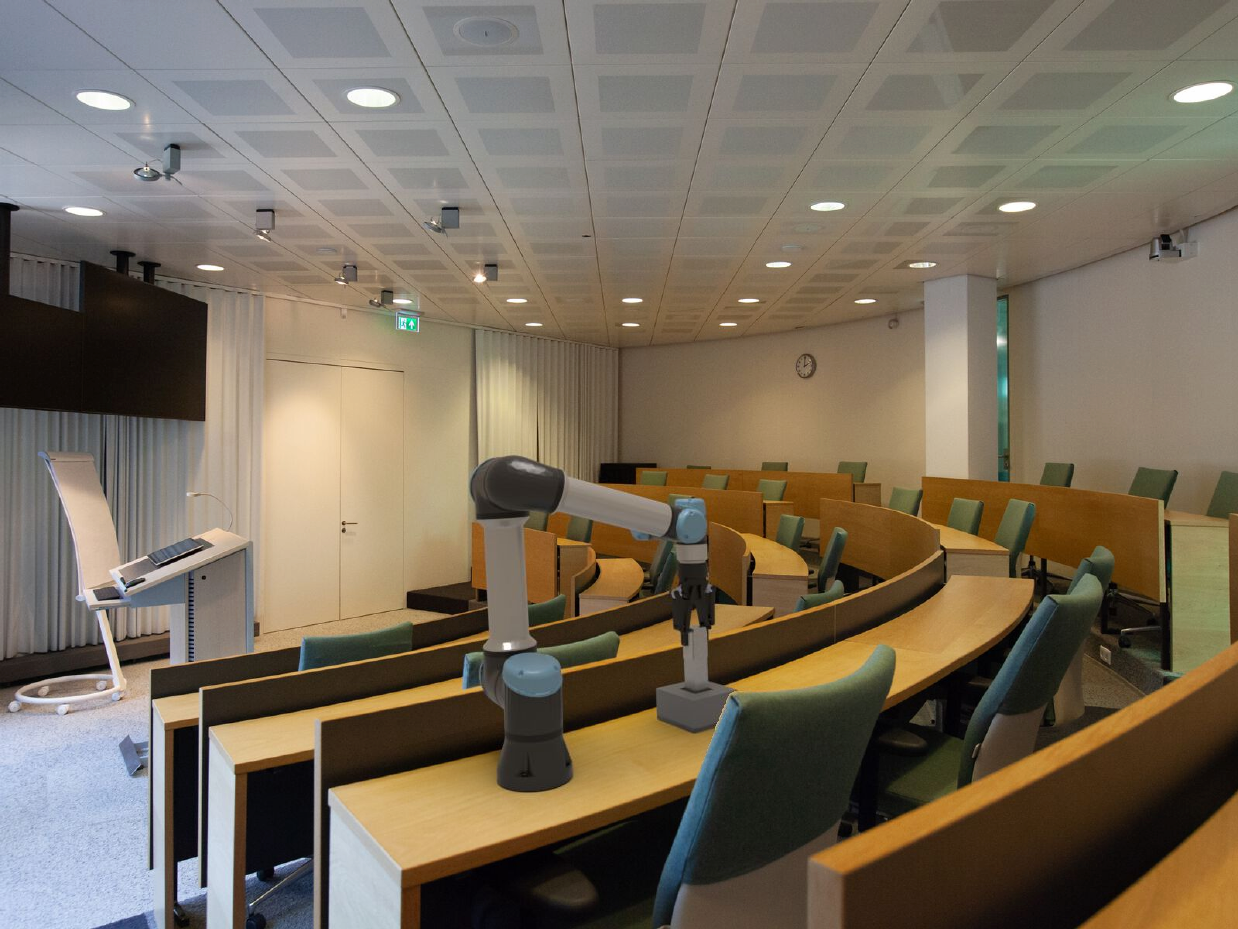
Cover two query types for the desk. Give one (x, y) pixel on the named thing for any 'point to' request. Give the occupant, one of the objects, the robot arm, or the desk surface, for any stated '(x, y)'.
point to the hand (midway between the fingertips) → (695, 657)
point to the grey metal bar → (697, 662)
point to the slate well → (691, 706)
